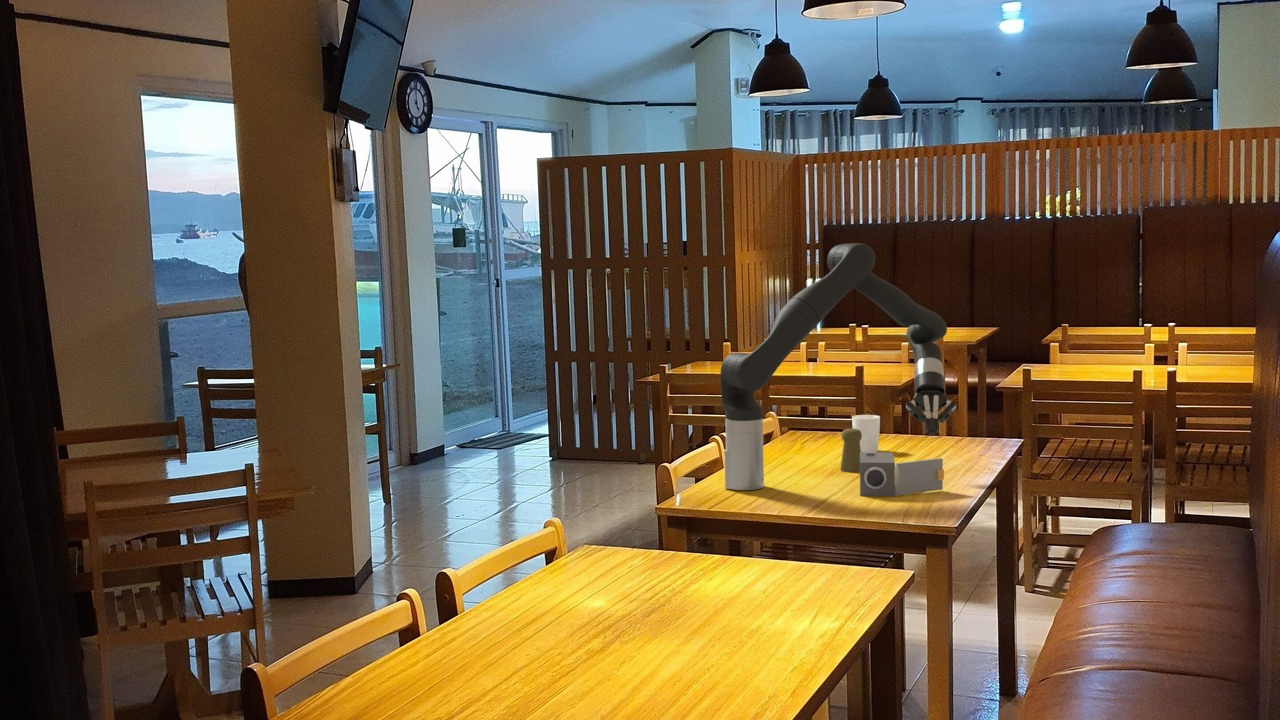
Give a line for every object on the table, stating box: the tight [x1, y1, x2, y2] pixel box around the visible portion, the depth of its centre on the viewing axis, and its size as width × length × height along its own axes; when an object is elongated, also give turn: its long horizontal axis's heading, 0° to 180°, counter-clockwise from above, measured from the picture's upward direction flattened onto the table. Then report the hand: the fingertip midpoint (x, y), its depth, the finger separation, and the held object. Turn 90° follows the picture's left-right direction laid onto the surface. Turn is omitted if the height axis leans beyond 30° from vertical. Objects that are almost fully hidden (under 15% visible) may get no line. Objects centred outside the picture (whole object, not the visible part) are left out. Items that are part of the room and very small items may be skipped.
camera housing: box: [859, 451, 896, 497], centre depth 286 cm, size 8×15×9 cm, turn 170°
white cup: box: [851, 414, 881, 452], centre depth 340 cm, size 8×8×10 cm
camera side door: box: [895, 457, 945, 496], centre depth 281 cm, size 2×14×8 cm, turn 115°
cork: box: [839, 427, 862, 473], centre depth 312 cm, size 6×6×11 cm
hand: (932, 433), depth 296 cm, fingers closed
